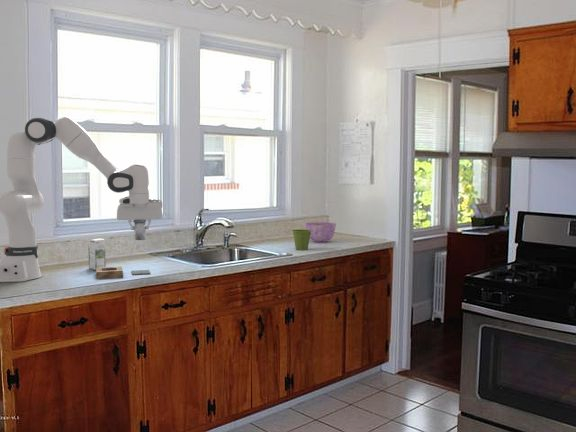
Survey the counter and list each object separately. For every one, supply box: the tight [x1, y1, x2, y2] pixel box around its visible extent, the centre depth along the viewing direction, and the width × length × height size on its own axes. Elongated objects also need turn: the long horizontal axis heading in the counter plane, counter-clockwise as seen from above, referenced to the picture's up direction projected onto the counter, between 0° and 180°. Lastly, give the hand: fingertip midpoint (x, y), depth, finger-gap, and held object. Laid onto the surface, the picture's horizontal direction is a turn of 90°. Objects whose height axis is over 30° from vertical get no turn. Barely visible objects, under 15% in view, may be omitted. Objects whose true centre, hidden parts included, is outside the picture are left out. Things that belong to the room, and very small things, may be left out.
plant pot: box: [291, 228, 312, 251], centre depth 345 cm, size 12×12×11 cm
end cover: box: [132, 220, 147, 241], centre depth 270 cm, size 6×6×9 cm
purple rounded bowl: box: [305, 221, 337, 243], centre depth 378 cm, size 20×20×12 cm
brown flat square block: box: [95, 266, 124, 280], centre depth 265 cm, size 11×11×3 cm
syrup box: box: [88, 237, 107, 271], centre depth 282 cm, size 6×6×14 cm
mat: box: [131, 269, 151, 276], centre depth 272 cm, size 8×8×1 cm
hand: (139, 229), depth 270 cm, fingers closed on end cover, 5 cm apart
